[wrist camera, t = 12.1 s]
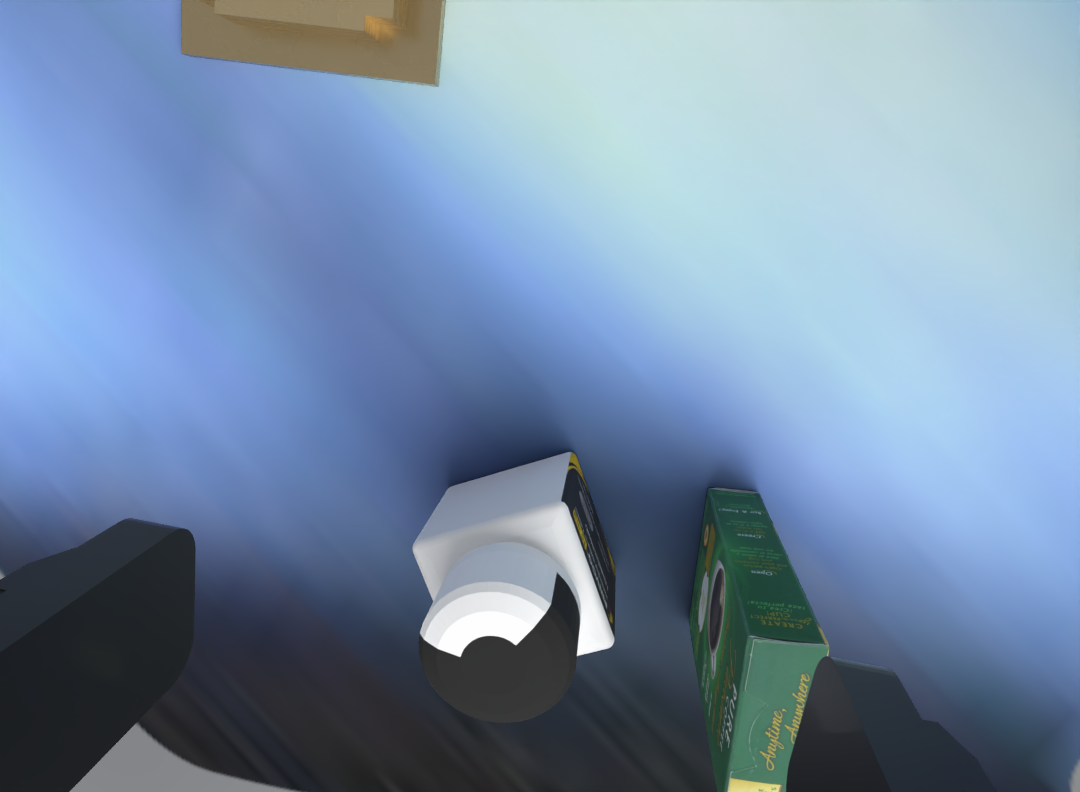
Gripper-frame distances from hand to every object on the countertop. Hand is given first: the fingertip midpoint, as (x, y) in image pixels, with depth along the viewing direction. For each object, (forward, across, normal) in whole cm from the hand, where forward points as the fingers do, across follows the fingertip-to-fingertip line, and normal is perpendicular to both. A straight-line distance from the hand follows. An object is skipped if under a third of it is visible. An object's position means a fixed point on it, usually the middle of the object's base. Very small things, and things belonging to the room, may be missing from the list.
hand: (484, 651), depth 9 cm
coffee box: (+28, -8, +11) cm, 31 cm away
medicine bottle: (+27, +2, +11) cm, 30 cm away
